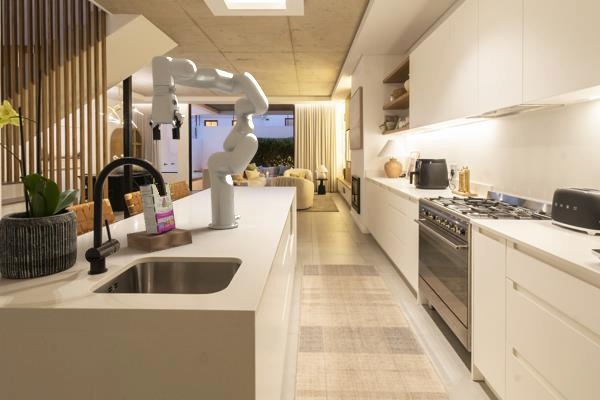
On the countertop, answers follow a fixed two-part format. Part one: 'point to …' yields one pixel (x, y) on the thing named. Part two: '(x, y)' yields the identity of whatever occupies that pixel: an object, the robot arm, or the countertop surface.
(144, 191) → the candy bar box
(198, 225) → the countertop surface
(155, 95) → the robot arm
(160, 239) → the walnut block
